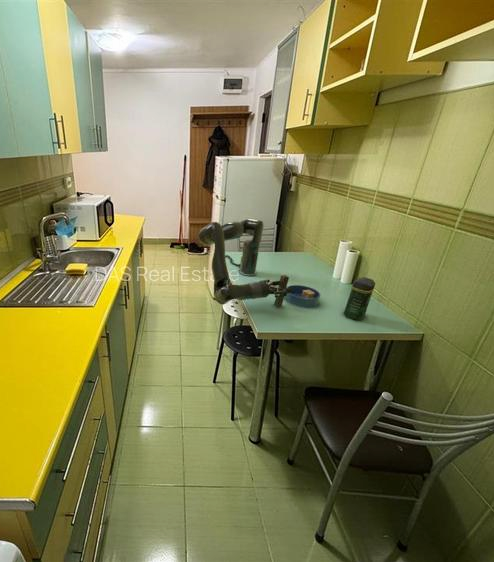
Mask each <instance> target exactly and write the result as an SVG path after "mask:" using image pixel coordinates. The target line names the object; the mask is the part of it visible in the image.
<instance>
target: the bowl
mask: <svg viewBox="0 0 494 562" xmlns="http://www.w3.org/2000/svg"><path fill="white" fill-rule="evenodd" d="M286 288H292V292H291V293H287V296H285V297H284V300H285V301H286V302H287V303H289V304H291V305H292V306H293V305H294V306H296V307H301V308H314V307H316V306H318V305H319V304H320V299H321V292H319V291H318V290H317V289H315V288H313V287H310V286H306V285H301V284H291V285H287V287H286ZM304 290H311V291H312V292H314V293H315V295H314V298H312V299H309V298H302V293H303V291H304Z"/></svg>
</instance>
